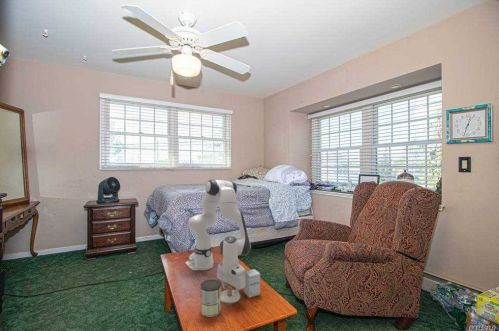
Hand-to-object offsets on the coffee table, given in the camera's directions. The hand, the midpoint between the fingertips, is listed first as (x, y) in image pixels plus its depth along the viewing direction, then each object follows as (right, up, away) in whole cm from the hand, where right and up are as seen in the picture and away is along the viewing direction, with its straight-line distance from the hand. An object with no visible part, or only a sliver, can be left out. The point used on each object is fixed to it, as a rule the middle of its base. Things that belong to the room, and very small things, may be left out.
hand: (230, 291), depth 135 cm
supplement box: (+12, -4, +5) cm, 14 cm away
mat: (0, -4, 0) cm, 4 cm away
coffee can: (-9, -4, -12) cm, 16 cm away
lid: (0, -4, 0) cm, 4 cm away
